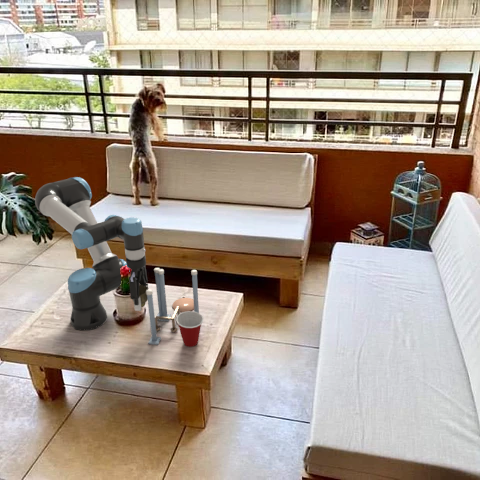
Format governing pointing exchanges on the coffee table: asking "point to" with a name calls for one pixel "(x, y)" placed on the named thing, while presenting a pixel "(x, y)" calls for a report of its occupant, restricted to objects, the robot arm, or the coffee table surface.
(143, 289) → the ornate lamp shade
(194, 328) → the plastic cup
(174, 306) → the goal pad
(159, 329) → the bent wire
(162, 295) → the gate
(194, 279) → the gate
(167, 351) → the coffee table surface
